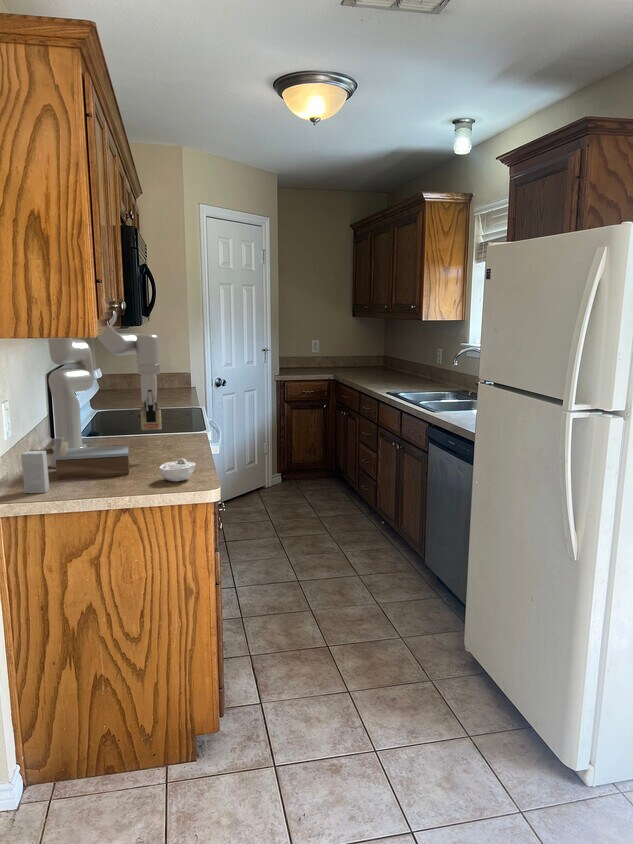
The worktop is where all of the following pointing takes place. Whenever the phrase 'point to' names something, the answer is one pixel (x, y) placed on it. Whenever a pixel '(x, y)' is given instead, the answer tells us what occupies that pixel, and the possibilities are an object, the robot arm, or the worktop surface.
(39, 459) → the skincare box
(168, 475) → the cell model
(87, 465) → the wooden box
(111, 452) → the lid
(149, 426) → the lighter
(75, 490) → the worktop surface
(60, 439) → the flask
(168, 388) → the worktop surface
